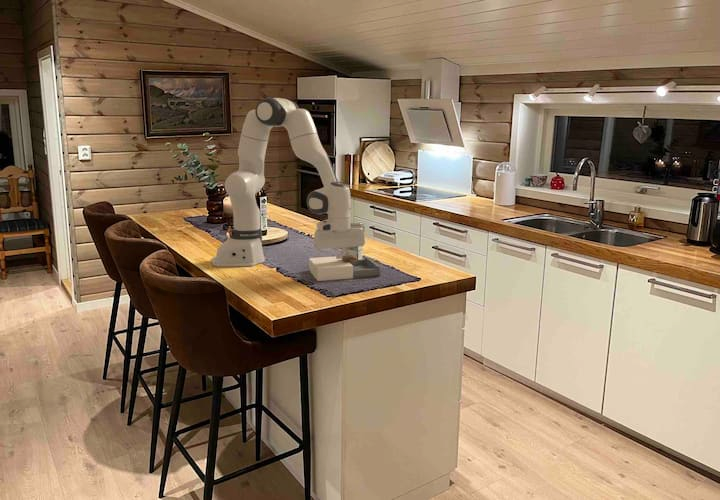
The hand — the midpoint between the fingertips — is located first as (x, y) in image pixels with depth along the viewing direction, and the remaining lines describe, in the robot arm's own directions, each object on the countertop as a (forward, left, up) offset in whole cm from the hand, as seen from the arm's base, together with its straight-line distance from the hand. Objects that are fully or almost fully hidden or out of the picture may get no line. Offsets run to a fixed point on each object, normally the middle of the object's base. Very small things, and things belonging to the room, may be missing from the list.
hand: (339, 258), depth 239 cm
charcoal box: (+9, 0, -6) cm, 11 cm away
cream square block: (-4, 0, -6) cm, 7 cm away
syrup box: (+11, +18, -7) cm, 22 cm away
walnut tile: (+4, 0, -1) cm, 4 cm away
